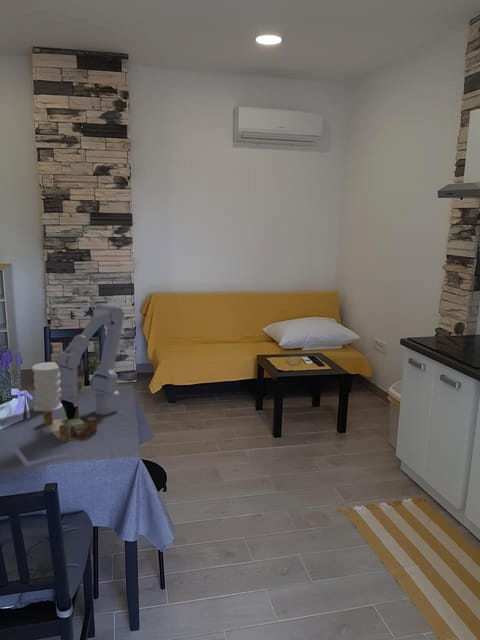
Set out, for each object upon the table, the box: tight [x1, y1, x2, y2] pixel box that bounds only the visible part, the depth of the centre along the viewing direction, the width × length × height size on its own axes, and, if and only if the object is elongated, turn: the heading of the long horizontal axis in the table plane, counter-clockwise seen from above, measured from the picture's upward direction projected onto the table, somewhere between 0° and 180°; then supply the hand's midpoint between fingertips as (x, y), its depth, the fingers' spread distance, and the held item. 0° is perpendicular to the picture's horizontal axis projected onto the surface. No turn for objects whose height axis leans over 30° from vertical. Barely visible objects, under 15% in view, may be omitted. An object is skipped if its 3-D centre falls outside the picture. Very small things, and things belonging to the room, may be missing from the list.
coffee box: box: [76, 356, 85, 397], centre depth 217 cm, size 9×6×16 cm
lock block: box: [69, 419, 85, 433], centre depth 178 cm, size 4×4×4 cm
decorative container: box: [31, 361, 63, 412], centre depth 200 cm, size 12×12×18 cm
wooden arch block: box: [75, 416, 98, 437], centre depth 176 cm, size 7×2×5 cm, turn 129°
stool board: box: [42, 406, 98, 443], centre depth 181 cm, size 13×20×6 cm, turn 39°
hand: (70, 418), depth 184 cm, fingers closed
